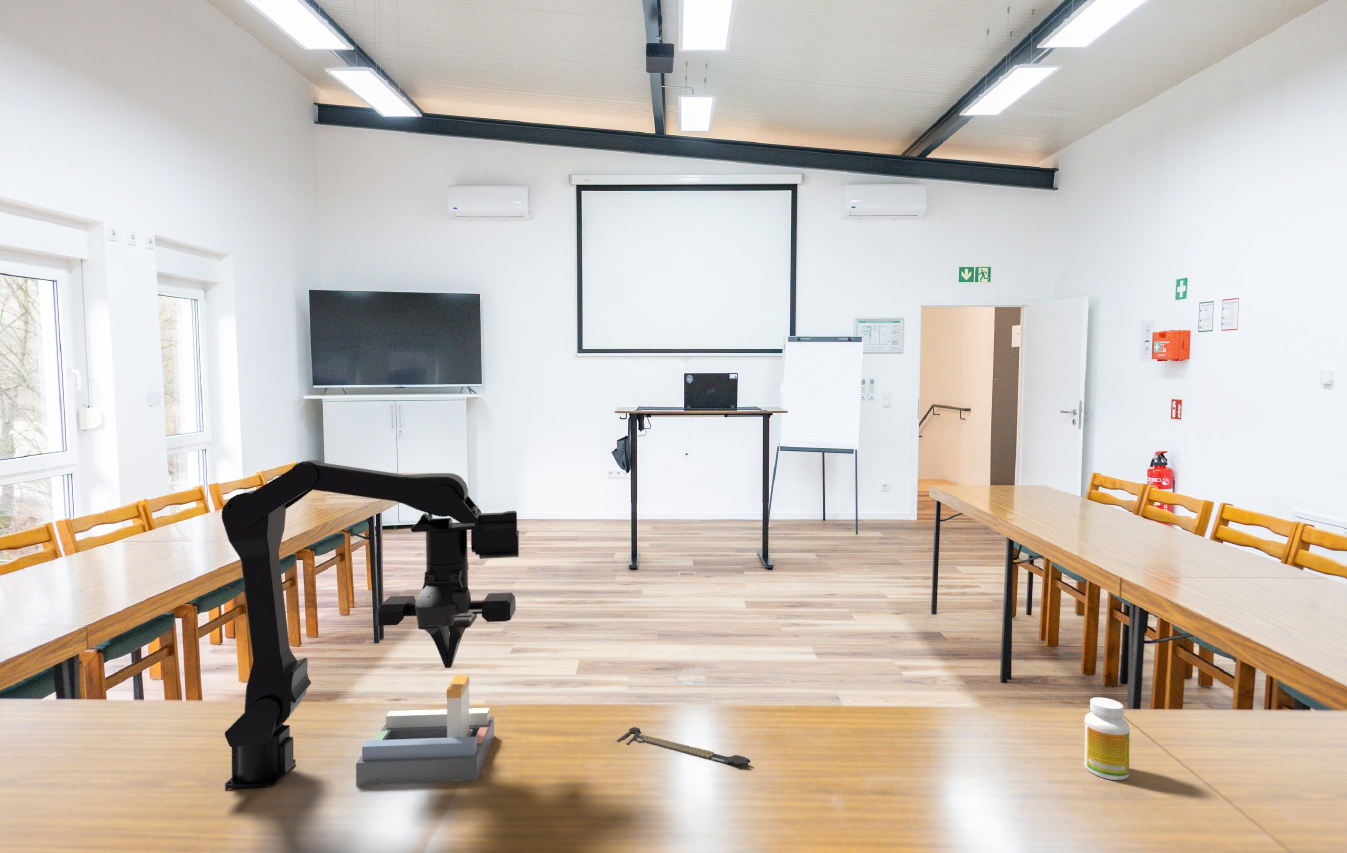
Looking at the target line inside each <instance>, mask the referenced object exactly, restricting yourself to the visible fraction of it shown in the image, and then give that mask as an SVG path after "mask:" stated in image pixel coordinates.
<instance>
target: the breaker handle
mask: <svg viewBox="0 0 1347 853" xmlns="http://www.w3.org/2000/svg"><path fill="white" fill-rule="evenodd" d="M469 708H470V675H469V674H462V675H459V674H457V675H455V676H454V678H453V679H452V680H451V682H450V684H449V685H448V687H447V689H446V709H447V738H452V737H473V729H469Z"/></svg>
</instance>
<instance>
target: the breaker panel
mask: <svg viewBox="0 0 1347 853" xmlns="http://www.w3.org/2000/svg"><path fill="white" fill-rule="evenodd" d="M490 709H491V708H490V707H477V708H476V707H475V708H474V707H473V708H470V707H469V729H473V737H452V738H447V708H446V709H445V708H444V709H441V708H439V709H414V710H413V709H412V710H411V709H409V710H389V712H388V713H387V714H386V715H385V724H384V726H383V727H382V728H381V730H380V731H379V732H378V733H377V735H376V736H375V738H374V739H371V740H370V739H369V740H366V741H365V742H364V744H363V745H362V746H361V747H362V748H361V754H362V755H361V756H360V757H359V759H358V760H356V762H355V786H369V785H372V786H373V785H391V784H392V785H395V784H397V785H398V784H417V783H419V784H421V783H442V782H443V783H446V782H466V781H467V782H468V781H469V782H470V781H477V780H478V778H479V776H480V773H481V770H482V768H483V765H484V763H485V761H486V757H487V755H488V753H489V751H490V748H491V745H492V742H493V740H494V737H495V716H491V715H490V713H491V710H490Z"/></svg>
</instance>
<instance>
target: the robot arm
mask: <svg viewBox="0 0 1347 853" xmlns="http://www.w3.org/2000/svg"><path fill="white" fill-rule="evenodd" d="M312 491H318V492H319V491H320V492H326V493H333V494H340V495H341V494H342V495H348V496H354V497H361V498H367V499H368V498H369V499H376V500H383V501H390V502H396V503H399V504H403V505H406V506H407V507H410V508H412V509H415V510H417V511H420V512H423V514H422V515H421V516H420V518H419V520H418V521H417V522H416V523H415V524H414V525H413V526H412V527H411V528H410V531H411V533H425V552H426V553H425V559H426V562H425V564H426V565H425V566H426V568H425V569H426V571H425V572H424V577H423V579H424V581H423V585H422V588H421V590H420V592H419V595H418V596H417V599H416V597H415V595H395V596H392V595H391V596H389V597H388V598H387V599H386V600H385V601H383V602H382V603H380V604H379V605H378V606H377V608H376V611H375V626H379V627H380V626H382V627H383V626H385V627H386V626H398V625H399V624H400V623H401V622H402V621H403V620H404V619H405V617H416V622H417V628H418V630H424V631H425V632H426V633H428V634H429V635H430V637H431V639H432V640H433V642H434V644H435V646H436V649H437V652H438V653H439V656H440V658H441V661H442V664H443V666H444V668H445V669H452V667H453V665H454V662H455V659H456V656H457V653H458V650H459V646H460V644H461V641H462V638H463V635H464V633H465V632H466V629H468V628H470V627H472V625H473V624H474V622H475V621H476V619H477V618H478V615H481V617H482V619H483V620H485V621H486V622H487V623H495V622H498V623H499V622H509V621H511V620H512V618H513V616H514V614H515V612H516V610H517V608H516V606H517V605H516V603H517V602H516V596H515V595H514V594H513V593H512V592H494V593H493V592H492V593H488V594H487V595H486V597H485V598H484V599H483V600H472V598H471V592H470V589H469V560H468V531H470V545H471V546H470V547H471V553H475V554H474V555H476V556H477V555H478V557H479V559H480V560H485V559H487V560H489V559H505V558H506V559H507V558H510V559H511V558H519V557H520V556H519V555H520V536H519V535H520V531H519V530H518V511H516V510H507V511H503V512H485V513H483V512H482V511H481V509H480V508H479V507H478V506H479V505H476V503H475V502H474V501H473V500H472V498H471V497H470V496H469V488H468V486H467V483H466V481H464V478H462V476H460V475H458V474H455V473H450V472H447V473H446V472H445V473H443V472H441V473H438V472H437V473H417V474H415V473H414V474H401V473H395V472H386V471H381V470H375V469H368V468H361V467H354V466H346V465H342V464H341V465H339V464H336V463H335V464H333V463H327V462H326V463H325V462H323V461H321V460H317V459H309V460H305V461H304V460H303V461H301V462H298V463H296V464H294V465H293V466H292V468H290V469H289V470H288V471H286V472H284V473H283V474H281V475H279V476H278V477H276V478H274V479H273V480H271V481H268V482H267V483H265V484H263V485H261V486H260V487H259V488H257V489H253V490H250V491H246V492H243V493H239V494H236V495H234V496H232V497H231V498H229V500H227V501H226V503H225V504H224V505H223V506H222V509H221V521H222V524H223V526H224V531H225V534H226V537H227V539H228V542H229V543H230V545H231V546H232V548H233V550H234V552H236V554H237V557H239V559H240V564H241V572H242V580H243V582H242V583H243V589H244V598H245V606H246V616H247V622H248V623H247V624H248V631H249V633H248V634H249V641H250V649H251V657H252V661H251V662H252V663H251V667H250V672H249V675H248V679H247V682H246V683H247V684H246V687H245V697H244V698H245V699H244V712H243V713H242V714H241V715H240V716H239V717H238V718H237V720H235V721H234V722H233V723H232V724H231V726H229V728H227V729H226V731H225V732H224V736H225V739H226V742H227V743H228V746H229V747H230V748H231V777H230V779H228V780H227V781H226V782H225V783H224V788H225V789H237V788H240V789H241V788H262V787H263V788H264V787H266V788H268V787H274V786H275V785H277V784H278V783H279V782H280V780H281V779H283V777H284V776H285V775H286V774H287V773H288V772H289V771H290V770H291V769H292V767H294V765H295V764H296V761H297V760H296V759H295V758H294V737H293V736H291V725H289V724H284V723H285V722H286V721H287V720H288V719H289V718H290V717H291V715H292V714H293V712H295V710H296V709H297V708H298V706H299V705H300V704H301V703H302V701H303V700H304V698H305V697H306V695H307V689H308V688H309V686H311V684H312V682H311V680H310V678H309V675H308V665H309V664H308V663H309V662H308V657H303V658H300V659H297V658H296V656H295V655H294V654H293V652H292V650H291V646H290V638H289V630H288V623H287V622H288V621H287V613H286V605H285V604H286V603H285V597H284V596H285V595H284V588H283V578H282V569H281V560H280V547H281V544H282V540H283V536H284V532H285V527H286V526H285V525H286V517H287V516H286V514H287V513H286V512H287V509H289V508H290V507H291V506H293V505H294V504H296V503H298V502H299V501H300V500H302V499H303V498H304V497H305V496H307V495H308V494H309V493H311V492H312ZM428 514H430V515H433V516H437V517H438V518H432V517H431V516H429V515H428ZM452 519H453V520H455V521H457V522H459V523H456V522H454V523H453V520H452Z"/></svg>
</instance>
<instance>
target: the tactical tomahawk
mask: <svg viewBox="0 0 1347 853" xmlns="http://www.w3.org/2000/svg"><path fill="white" fill-rule="evenodd" d="M640 733H641V729H640V728H639V727H635V726H633V727H631V728H629V730H628V732H626V733H625V734H624V735H622V736H621V737H619V738H618V739H617V740H616V741H615V742H616V743H620V742H622V741H623V740H626V738H628V737H629V736H630V735H633V736H632V737H631V738H630V739H629V740H628V741H627V742H626V743H625V745H626V746H630V745H631V743H632V742H637V743H638V744H642V743H646V744H650V745H653V746H654V745H655V746H658V747H661V748H665V749H668V750H672V751H676V752H679V753H684V754H686V755H690V756H694V757H698V758H702V759H705V760H710V761H712V762H715V763H720V764H724V765H728V764H733V765H735V766H737V765H738V766H739V765H740V766H743V765H744V766H748V765H749V764H750V763H751V759H749V758H748V757H745V756H742V755H739V754H738V755H737V754H735V755H731V756H726V755H721V754H718V753H715V752H714V751H711V750H706V749H702V748H698V747H694V746H690V745H686V744H683V743H678V742H674V741H669V740H667V739H661V738H657V737H653V736H649V735H646V734H640Z"/></svg>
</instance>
